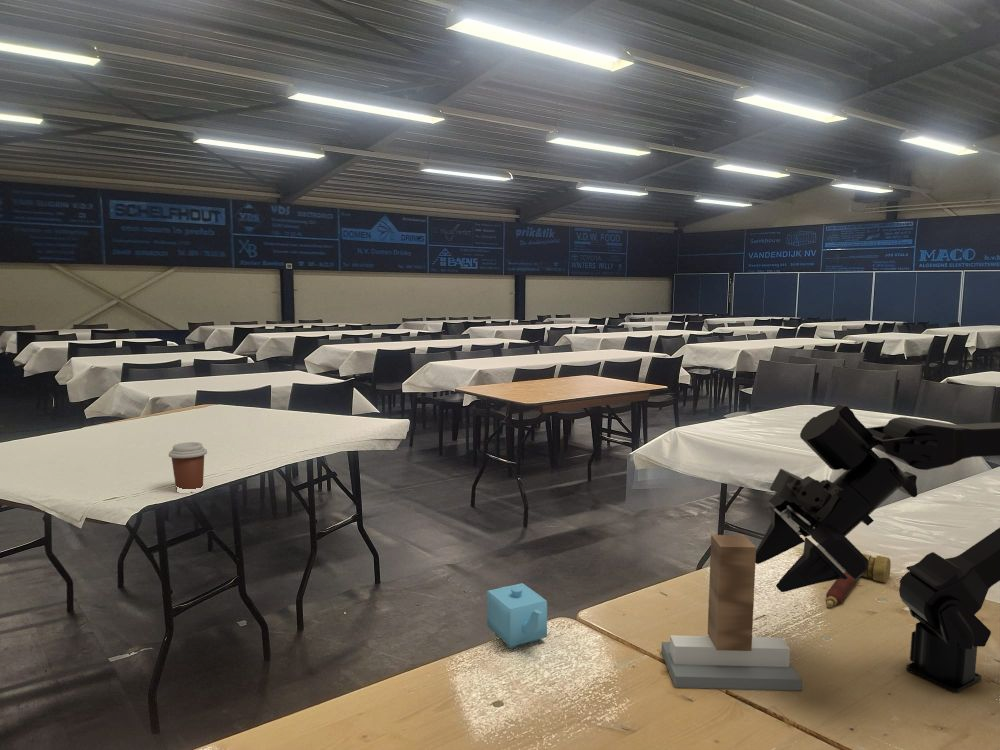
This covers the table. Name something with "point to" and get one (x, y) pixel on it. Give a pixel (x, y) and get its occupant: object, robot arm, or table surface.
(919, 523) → the table surface
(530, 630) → the teapot
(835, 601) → the gavel
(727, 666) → the ridge board
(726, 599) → the walnut post
